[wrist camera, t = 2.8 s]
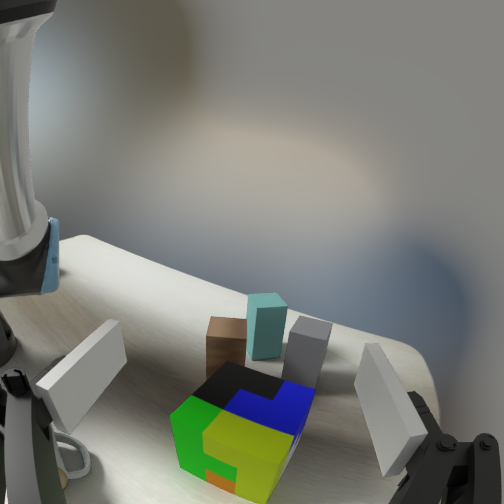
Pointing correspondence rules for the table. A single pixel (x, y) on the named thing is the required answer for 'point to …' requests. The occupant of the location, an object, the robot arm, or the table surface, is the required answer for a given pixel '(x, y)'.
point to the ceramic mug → (61, 468)
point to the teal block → (265, 325)
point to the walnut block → (225, 343)
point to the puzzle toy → (241, 430)
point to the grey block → (306, 351)
